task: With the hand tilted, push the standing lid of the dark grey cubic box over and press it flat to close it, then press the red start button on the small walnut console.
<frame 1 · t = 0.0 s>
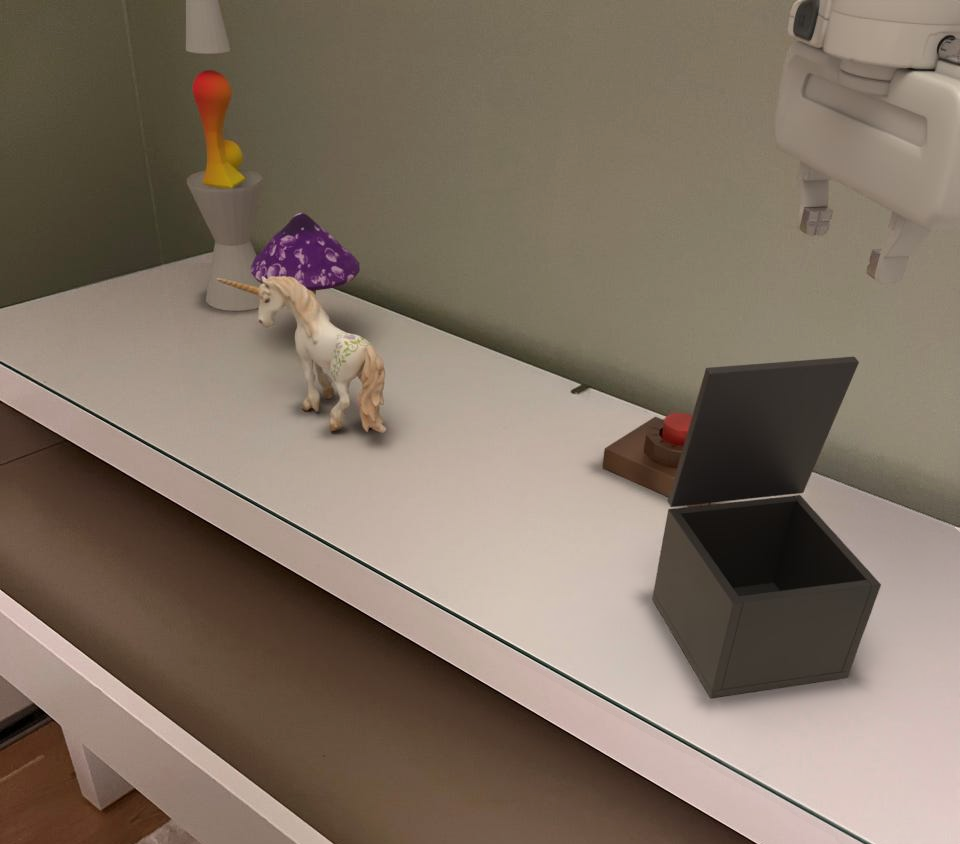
hand: (844, 255, 65), 26 cm above the table, tool pointing down, fingers open, 8 cm apart
start button: (682, 430, 90), point 4 cm above the table, slide at 0.1 cm
lid: (758, 435, 67), point 15 cm above the table, hinge at 80.0°
decorative mushroom: (311, 342, 114), on the table
lava lamp: (240, 299, 124), on the table
unicorn figurine: (308, 423, 98), on the table
console: (674, 470, 92), on the table
dark grey cubic box: (745, 636, 73), on the table
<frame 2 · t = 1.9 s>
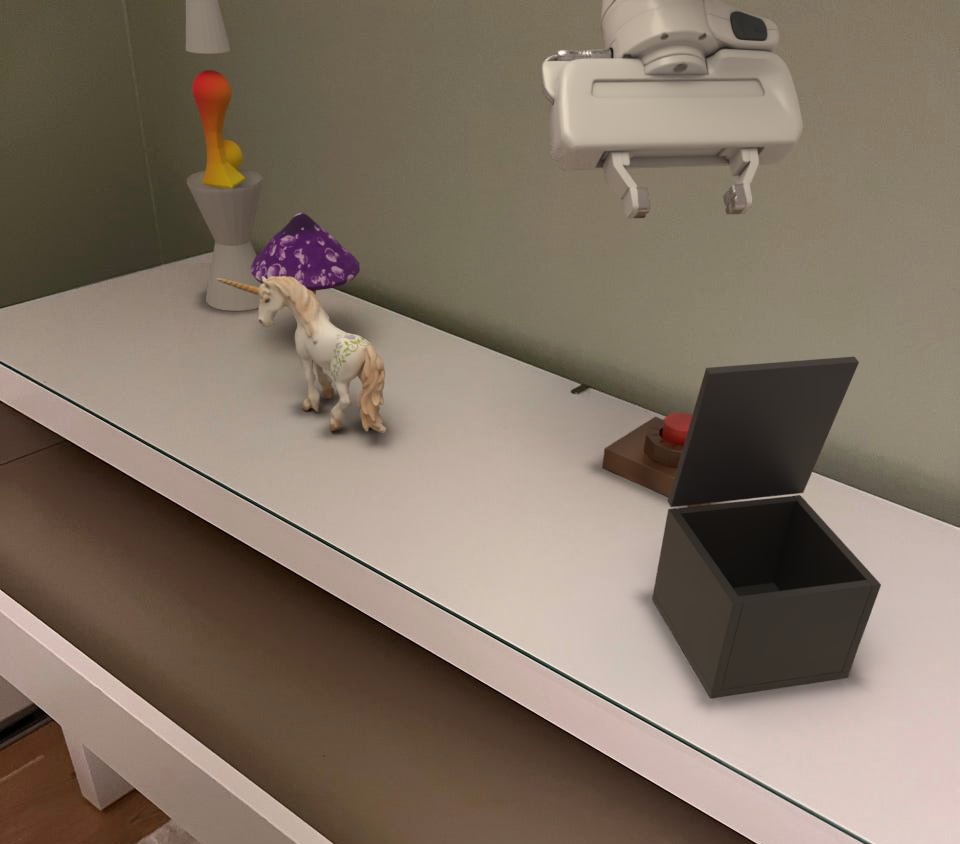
hand: (689, 213, 74), 26 cm above the table, tool tilted 45°, fingers open, 7 cm apart
nothing on the table moved.
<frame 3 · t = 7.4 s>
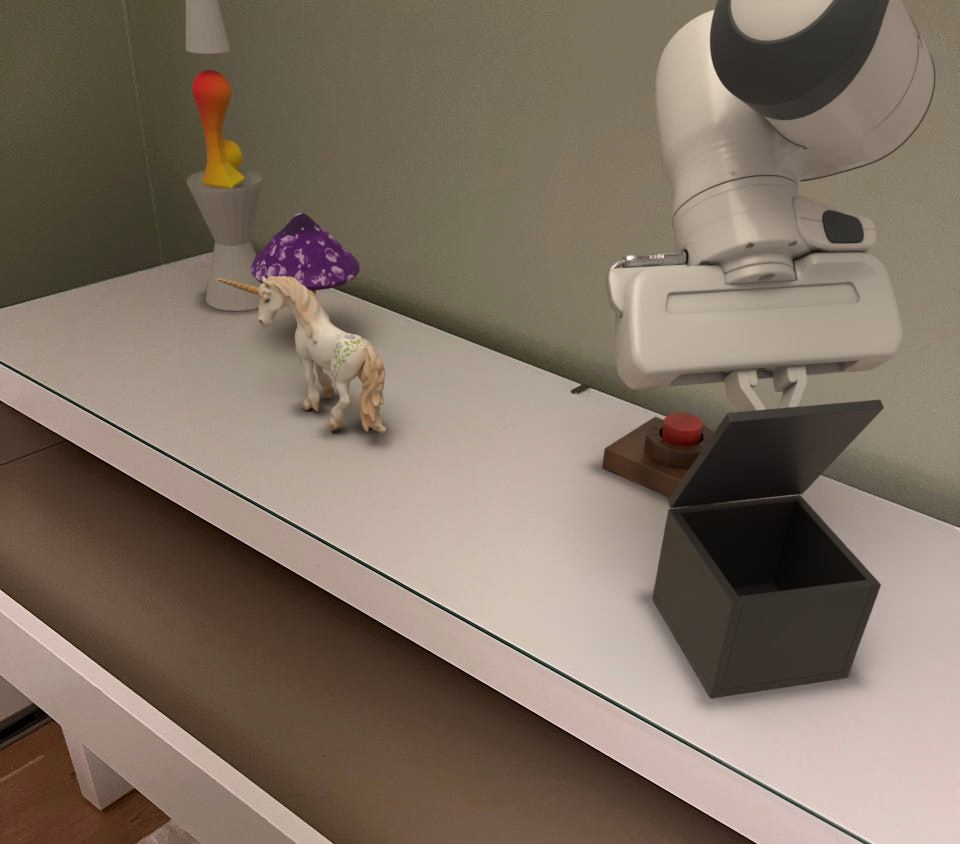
hand: (775, 437, 65), 16 cm above the table, tool tilted 45°, fingers closed
lid: (768, 457, 66), point 14 cm above the table, hinge at 60.4°, touching gripper
everything else where it was.
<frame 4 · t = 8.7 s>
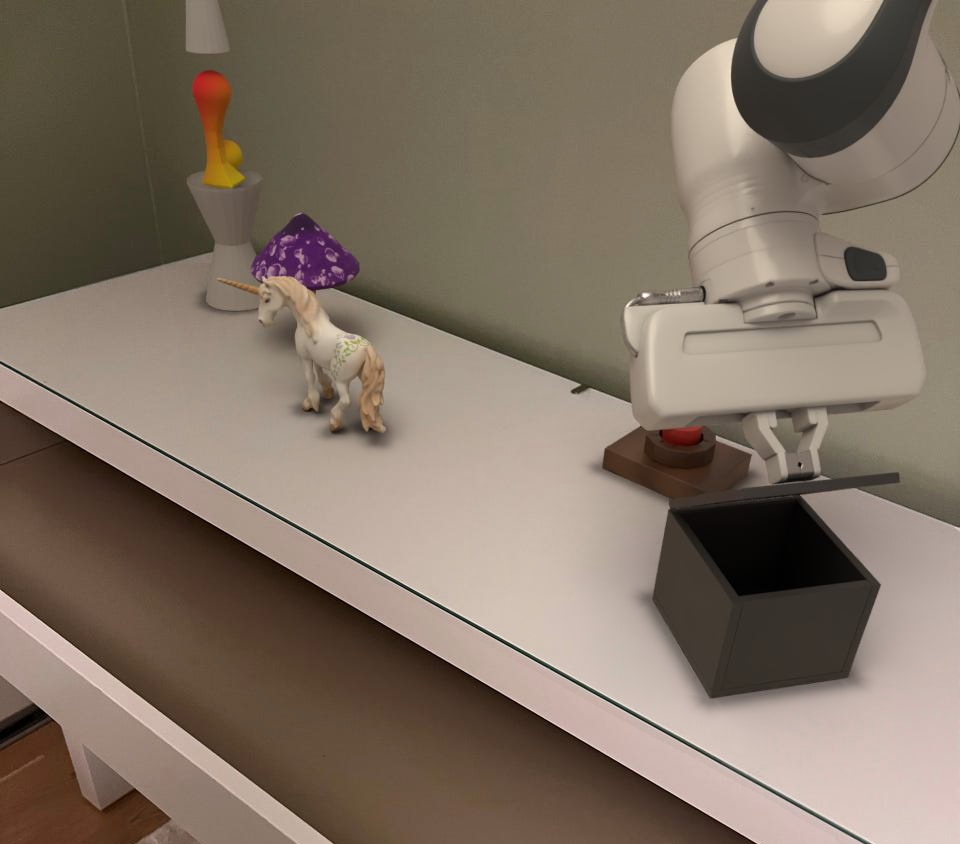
hand: (795, 481, 63), 15 cm above the table, tool tilted 45°, fingers closed, pressing on lid
lid: (775, 491, 66), point 13 cm above the table, hinge at 36.1°, touching gripper
everything else where it was.
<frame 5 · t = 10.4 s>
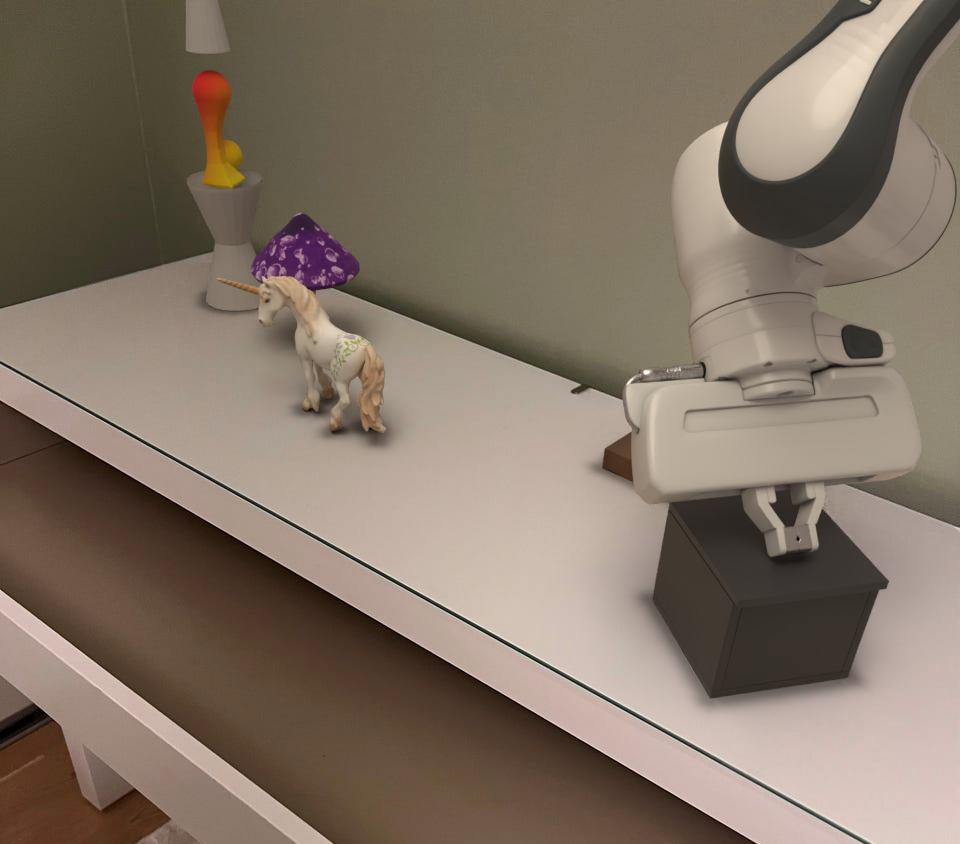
hand: (793, 554, 64), 10 cm above the table, tool tilted 45°, fingers closed, pressing on lid
lid: (772, 542, 67), point 9 cm above the table, hinge at 0.0°, touching gripper
everything else where it was.
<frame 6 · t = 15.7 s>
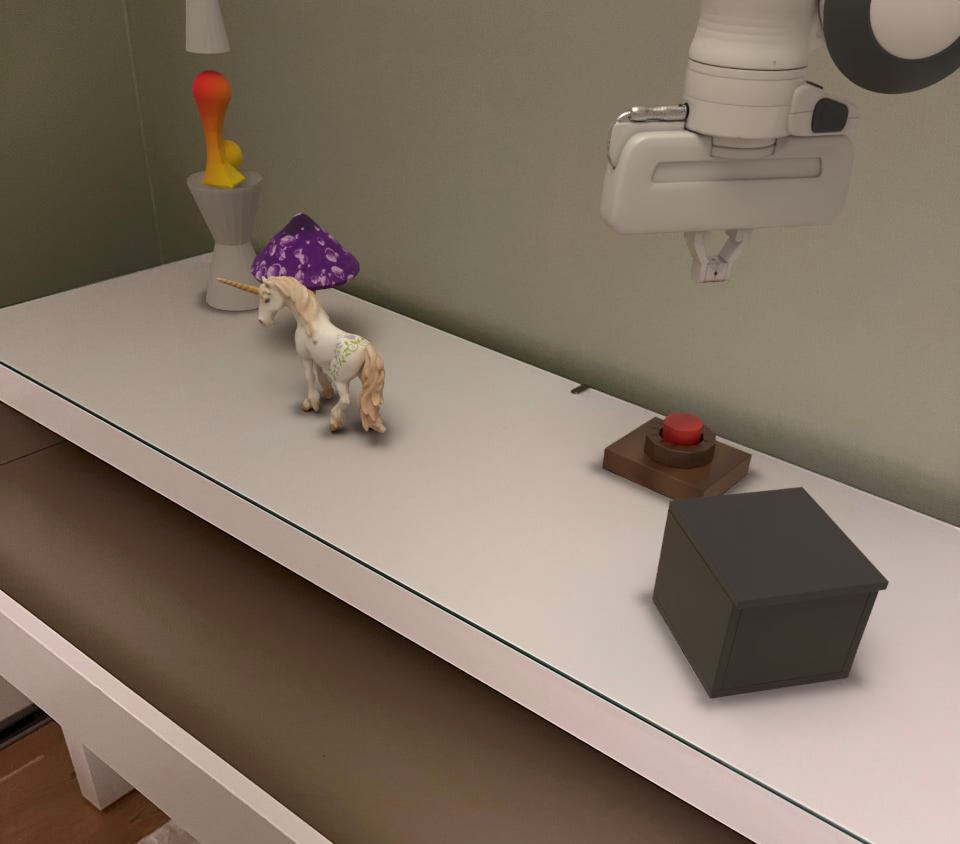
hand: (709, 280, 81), 19 cm above the table, tool pointing down, fingers closed
lid: (772, 542, 67), point 9 cm above the table, hinge at -0.3°, touching dark grey cubic box
everything else where it was.
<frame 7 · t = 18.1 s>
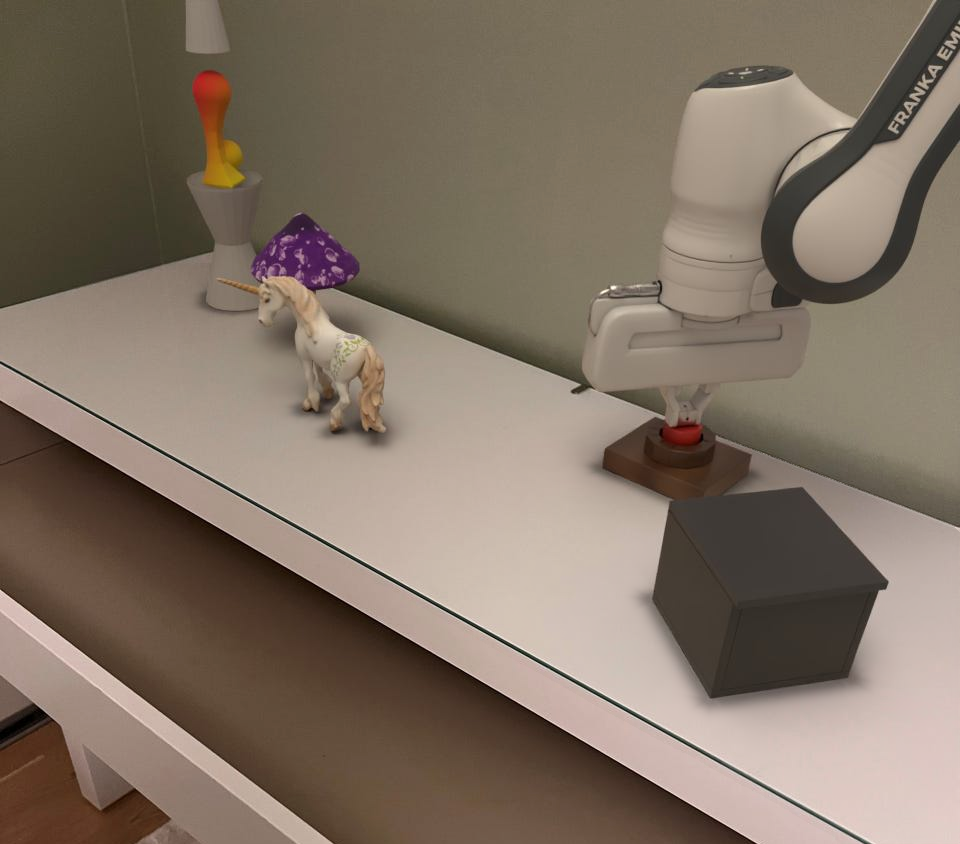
hand: (682, 423, 89), 5 cm above the table, tool pointing down, fingers closed, pressing on start button
start button: (681, 431, 90), point 4 cm above the table, slide at 0.0 cm, touching gripper
everything else where it was.
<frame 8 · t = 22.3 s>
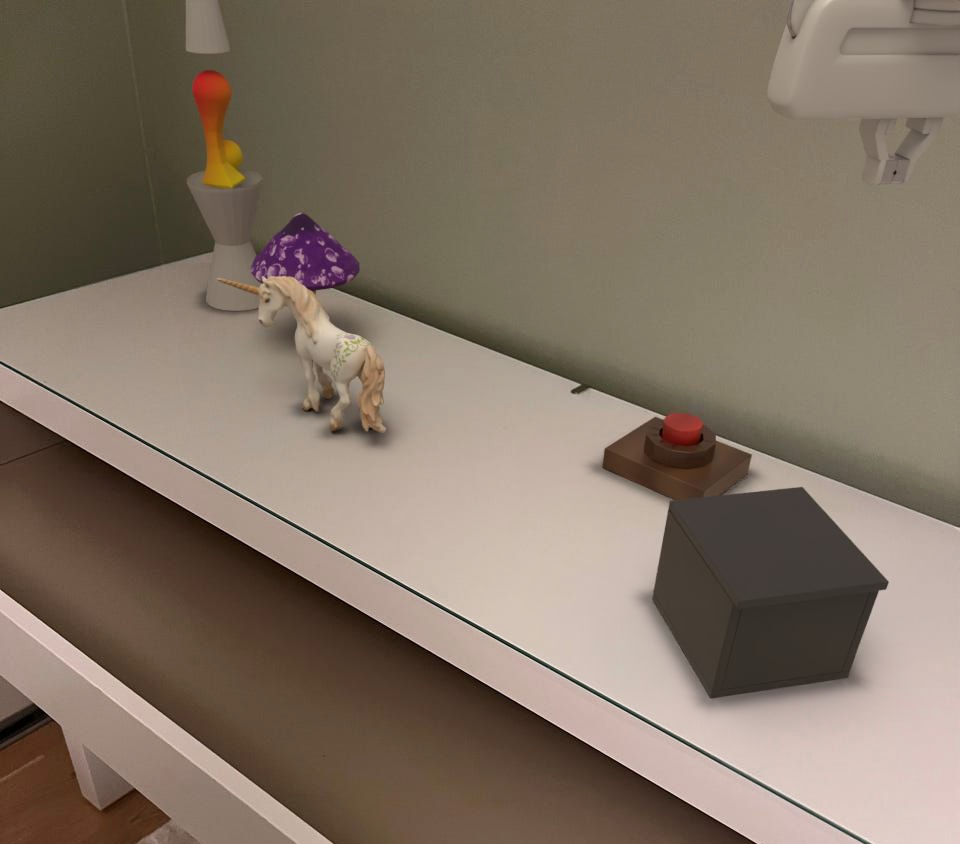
hand: (884, 182, 69), 29 cm above the table, tool pointing down, fingers closed
start button: (682, 430, 90), point 4 cm above the table, slide at 0.1 cm
everything else where it was.
at the end: lid at +0° (first picture: +80°); start button pushed in 1.1 cm at the most during the clip, back to where it started at the end; start button slide at 0.1 cm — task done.
